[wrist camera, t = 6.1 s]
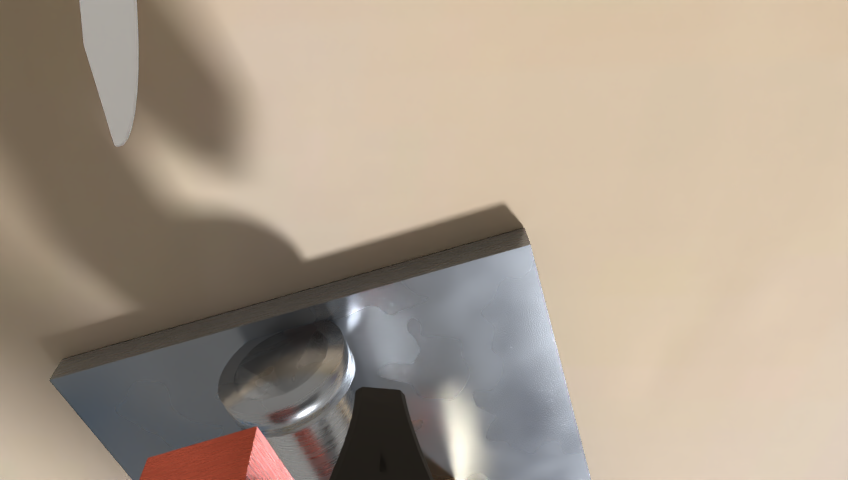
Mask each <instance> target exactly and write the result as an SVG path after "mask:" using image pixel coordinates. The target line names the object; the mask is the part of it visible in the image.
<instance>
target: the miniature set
mask: <svg viewBox="0 0 848 480" xmlns="http://www.w3.org/2000/svg"><path fill="white" fill-rule="evenodd" d="M79 2H80V12H81V23H82V33H83V43H84V48H85V51H86V54H87V57H88V61H89V64H90V67H91V71H92V74H93V77H94V80H95V84H96V87H97V90H98V93H99V97H100V100H101V103H102V107H103V110H104V113H105V116H106V120H107V123H108V126H109V130H110V133H111V136H112V139H113V143H114V145H115V146H117V147H119V146H122V145H124V144H125V142H126V141H127V140H128V138H129V135H130V132H131V129H132V125H133V121H134V116H135V109H136V100H137V90H138V71H139V40H138V14H137V0H79Z"/></svg>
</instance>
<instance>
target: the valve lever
mask: <svg viewBox="0 0 848 480" xmlns="http://www.w3.org/2000/svg"><path fill="white" fill-rule="evenodd" d="M139 480H294V479H293V478H292V476H291V475H290V473H289V472H288V470H287V469H286V467H285V466H284V464H283V463H282V462H281V460H280V459H279V457H278V456H277V454H276V453H275V451H274V450H273V449H272V447H271V446H270V444H269V443H268V441H267V440H266V438H265V437H264V435H263V434H262V433H261V431H260V430H259V428H258V427H257V426H256V427H252V428H249V429H245V430H242V431H239V432H235V433H232V434H228V435H225V436H221V437H218V438H215V439H211V440H208V441H204V442H201V443H197V444H194V445H190V446H187V447H184V448H180V449H177V450H173V451H170V452H166V453H163V454H160V455H156V456H153V457H149V458H148V459H147V461H146V464H145V466H144V469H143V471H142V474H141V477H140V479H139Z"/></svg>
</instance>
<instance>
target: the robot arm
mask: <svg viewBox="0 0 848 480" xmlns="http://www.w3.org/2000/svg"><path fill="white" fill-rule="evenodd" d="M329 480H434V479H433V477H432V474H431V472H430V470H429V467H428V465H427V463H426V460H425V458H424V455H423V452H422V450H421V447H420V444H419V442H418V439H417V436H416V433H415V430H414V427H413V424H412V421H411V418H410V414H409V411H408V407H407V403H406V398H405V395H404V393H403V392H402V391H401V390H397V389H385V388H373V387H361V388H359V389H358V390H356V392H355V399H354V406H353V413H352V418H351V421H350V425H349V428H348V431H347V434H346V437H345V441H344V443H343V446H342V449H341V451H340V454H339V456H338V459H337V461H336V464H335V466H334V469H333V472H332V474H331V476H330V479H329Z"/></svg>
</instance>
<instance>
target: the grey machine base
mask: <svg viewBox="0 0 848 480" xmlns="http://www.w3.org/2000/svg"><path fill="white" fill-rule="evenodd" d="M50 382H51V383H52V384H53V385H54V386H55V388H56V389H57V390H58V391H59V392H60V394H61V395H62V396H63V397H64V398H65V399H66V401H67V402H68V403H69V404H70V405H71V407H72V408H73V409H74V410H75V411H76V413H77V414H78V415H79V416H80V417H81V419H82V420H83V421H84V422H85V423H86V425H87V426H88V427H89V428H90V429H91V431H92V432H93V433H94V434H95V435H96V437H97V438H98V439H99V440H100V441H101V443H102V444H103V445H104V446H105V447H106V449H107V450H108V451H109V452H110V453H111V455H112V456H113V457H114V458H115V459H116V461H117V462H118V463H119V464H120V465H121V467H122V468H123V469H124V470H125V471H126V473H127V474H128V475H129V476H130V477H131V479H132V480H139V479H140V477H141V474H142V471H143V469H144V466H145V464H146V461H147V459H148V458H149V457H153V456H156V455H160V454H163V453H166V452H170V451H173V450H177V449H180V448H184V447H187V446H190V445H194V444H197V443H201V442H204V441H208V440H211V439H215V438H218V437H221V436H225V435H228V434H232V433H235V432H239V431H242V430H245V429H249V428H252V427H256V426H257V427H258V428H259V430H260V431H261V433H262V434H263V435H264V437H265V438H266V440H267V441H268V443H269V444H270V446H271V447H272V449H273V450H274V451H275V453H276V454H277V456H278V457H279V459H280V460H281V462H282V463H283V464H284V466H285V467H286V469H287V470H288V472H289V473H290V475H291V476H292V478H293V479H294V480H329V479H330V476H331V474H332V472H333V469H334V466H335V464H336V461H337V459H338V456H339V454H340V451H341V449H342V446H343V443H344V441H345V437H346V434H347V431H348V428H349V425H350V421H351V418H352V413H353V406H354V399H355V392H356V390H358V389H359V388H361V387H373V388H385V389H397V390H401V391H402V392H403V393H404V395H405V398H406V403H407V407H408V411H409V414H410V418H411V421H412V424H413V427H414V430H415V433H416V436H417V439H418V442H419V444H420V447H421V450H422V452H423V455H424V458H425V460H426V463H427V465H428V467H429V470H430V472H431V474H432V477H433V479H434V480H591V478H590V474H589V470H588V466H587V462H586V458H585V454H584V450H583V447H582V443H581V439H580V435H579V431H578V427H577V423H576V419H575V416H574V412H573V408H572V404H571V400H570V396H569V392H568V388H567V384H566V381H565V377H564V373H563V369H562V365H561V361H560V357H559V353H558V349H557V346H556V342H555V338H554V334H553V330H552V326H551V322H550V318H549V315H548V311H547V307H546V303H545V299H544V295H543V291H542V287H541V283H540V280H539V276H538V272H537V268H536V264H535V260H534V256H533V252H532V248H531V245H530V242H529V239H528V236H527V234H526V231H525V228H522V229H519V230H515V231H512V232H508V233H505V234H501V235H498V236H494V237H491V238H487V239H484V240H480V241H477V242H473V243H470V244H466V245H463V246H459V247H456V248H452V249H449V250H445V251H441V252H438V253H434V254H431V255H427V256H424V257H420V258H417V259H413V260H410V261H406V262H403V263H399V264H396V265H392V266H389V267H385V268H382V269H378V270H375V271H371V272H368V273H364V274H361V275H357V276H354V277H350V278H347V279H343V280H340V281H336V282H333V283H329V284H326V285H322V286H319V287H315V288H312V289H308V290H305V291H301V292H298V293H294V294H291V295H287V296H284V297H280V298H277V299H273V300H269V301H266V302H262V303H259V304H255V305H252V306H248V307H245V308H241V309H238V310H234V311H231V312H227V313H224V314H220V315H217V316H213V317H210V318H206V319H203V320H199V321H196V322H192V323H189V324H185V325H182V326H178V327H175V328H171V329H168V330H164V331H161V332H157V333H154V334H150V335H147V336H143V337H140V338H136V339H133V340H129V341H126V342H122V343H119V344H115V345H112V346H108V347H105V348H101V349H98V350H94V351H90V352H87V353H83V354H80V355H76V356H73V357H69V358H66V359H62V361H61V362H60V364H59V365H58V367H57V369H56V370H55V372H54V373H53V375H52V377H51V378H50Z"/></svg>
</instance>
